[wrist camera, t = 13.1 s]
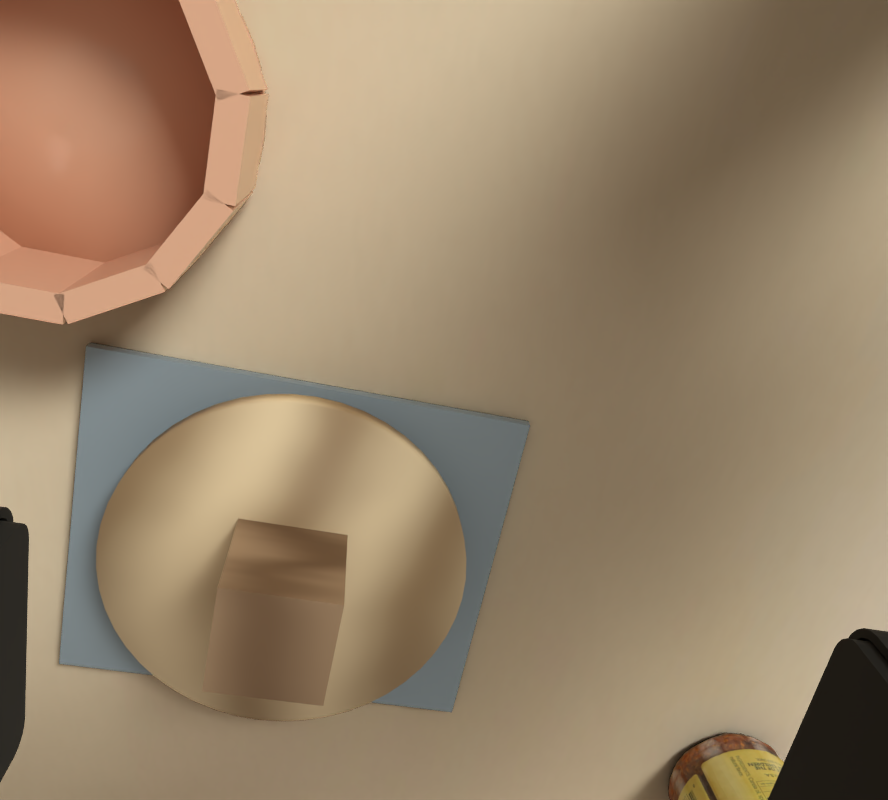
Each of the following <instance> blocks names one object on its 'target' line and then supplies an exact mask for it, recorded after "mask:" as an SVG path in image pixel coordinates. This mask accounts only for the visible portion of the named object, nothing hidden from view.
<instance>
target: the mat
mask: <svg viewBox="0 0 888 800" xmlns="http://www.w3.org/2000/svg"><path fill="white" fill-rule="evenodd" d="M264 394H296V395H305V396H314V397H320V398H324V399H328V400H332V401H337V402H341V403H344V404H346V405H349V406H352V407H354V408H357V409H360V410H362V411H365V412H367V413H369V414H371V415H372V416H374V417H376V418H378V419H380V420H382V421H384V422H386V423H387V424H389V425H390V426H392V427H393V428H394V429H396V430H397V431H399V432H400V433H402V434H403V435H404V436H406V437H407V438H408V439H409V440H410V441H411V442H412V443H413V444H414V445H416V446H417V447H418V448H419V449H420V450H421V451H422V452H423V453H424V454H425V456H426V457H427V458H428V459H429V460H430V462H431V463H432V464H433V465H434V466H435V468H436V469H437V470H438V472H439V474H440V475H441V477H442V478H443V480H444V482H445V483H446V485H447V487H448V489H449V491H450V493H451V496H452V498H453V500H454V502H455V505H456V507H457V511H458V515H459V518H460V522H461V526H462V530H463V535H464V541H465V550H466V581H465V586H464V592H463V597H462V601H461V604H460V607H459V610H458V613H457V616H456V618H455V620H454V622H453V624H452V626H451V628H450V630H449V632H448V634H447V636H446V638H445V639H444V640H443V642H442V643H441V645H440V646H439V648H438V649H437V651H436V652H435V653H434V654H433V656H432V657H431V658H430V659H429V660H428V661H427V662H426V663H425V664H424V665H423V667H422V668H421V669H420V670H418V671H417V672H416V673H415V674H414V675H413V676H411V677H410V678H409V679H408V680H407V681H406V682H404V683H403V684H401V685H400V686H398V687H397V688H395V689H394V690H392V691H391V692H389V693H388V694H386V695H384V696H382V697H380V698H378V699H376V700H374V701H372V702H373V703H381V704H389V705H397V706H406V707H414V708H422V709H430V710H438V711H446V712H452V710H453V706H454V702H455V699H456V695H457V691H458V688H459V684H460V680H461V677H462V673H463V669H464V666H465V662H466V658H467V655H468V651H469V647H470V644H471V640H472V636H473V633H474V629H475V626H476V622H477V618H478V615H479V611H480V607H481V604H482V600H483V596H484V593H485V589H486V585H487V582H488V578H489V574H490V571H491V567H492V563H493V560H494V556H495V552H496V549H497V545H498V541H499V538H500V534H501V530H502V527H503V523H504V519H505V516H506V512H507V508H508V505H509V501H510V497H511V494H512V490H513V486H514V483H515V479H516V475H517V472H518V468H519V464H520V461H521V457H522V453H523V450H524V446H525V442H526V439H527V435H528V431H529V428H530V424H529V422H528V421H524V420H519V419H513V418H508V417H502V416H496V415H491V414H485V413H480V412H474V411H469V410H463V409H457V408H452V407H446V406H441V405H435V404H430V403H424V402H418V401H413V400H407V399H402V398H396V397H390V396H385V395H379V394H374V393H368V392H363V391H357V390H351V389H346V388H340V387H335V386H329V385H324V384H318V383H312V382H307V381H301V380H296V379H290V378H284V377H279V376H273V375H268V374H262V373H257V372H251V371H245V370H240V369H234V368H229V367H223V366H218V365H212V364H206V363H201V362H195V361H190V360H184V359H178V358H173V357H167V356H162V355H156V354H151V353H145V352H139V351H134V350H128V349H123V348H117V347H112V346H106V345H100V344H95V343H89V344H88V345H87V346H86V354H85V365H84V377H83V389H82V400H81V412H80V424H79V435H78V447H77V459H76V470H75V482H74V494H73V506H72V517H71V529H70V541H69V552H68V564H67V576H66V587H65V599H64V611H63V623H62V634H61V646H60V658H59V664H66V665H74V666H82V667H90V668H98V669H106V670H114V671H123V672H131V673H139V674H147V675H152V674H151V673H150V672H149V671H148V670H147V669H146V668H145V667H144V666H142V665H141V664H140V663H139V662H138V660H137V659H136V658H135V657H134V656H133V655H132V653H131V652H130V651H129V650H128V649H127V648H126V646H125V645H124V643H123V642H122V640H121V639H120V637H119V635H118V634H117V632H116V631H115V629H114V627H113V625H112V623H111V621H110V619H109V617H108V615H107V612H106V610H105V607H104V604H103V601H102V597H101V594H100V591H99V585H98V578H97V571H96V546H97V540H98V535H99V529H100V524H101V521H102V518H103V515H104V513H105V510H106V507H107V504H108V502H109V500H110V498H111V496H112V495H113V493H114V491H115V489H116V487H117V485H118V483H119V482H120V480H121V479H122V477H123V475H124V474H125V473H126V471H127V470H128V468H129V467H130V466H131V464H132V463H133V462H134V460H135V459H136V458H137V456H138V455H139V454H140V453H141V452H142V451H143V450H144V449H145V448H146V447H147V446H148V445H149V444H150V443H151V442H152V441H153V440H154V439H155V438H156V437H158V436H159V435H160V434H162V433H163V432H164V431H166V430H167V429H168V428H170V427H171V426H172V425H174V424H176V423H177V422H179V421H181V420H183V419H184V418H186V417H188V416H190V415H192V414H193V413H195V412H198V411H200V410H203V409H205V408H208V407H210V406H213V405H215V404H218V403H222V402H226V401H230V400H234V399H237V398H241V397H249V396H256V395H264Z"/></svg>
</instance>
